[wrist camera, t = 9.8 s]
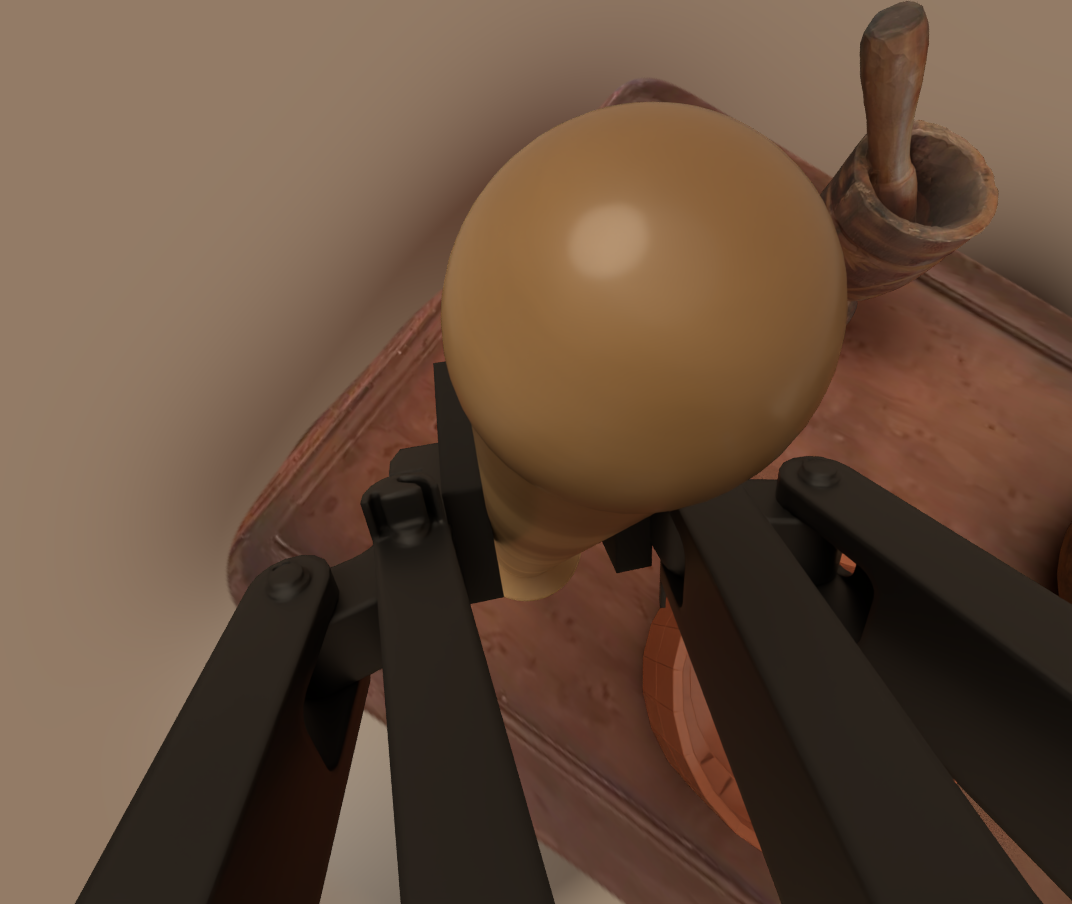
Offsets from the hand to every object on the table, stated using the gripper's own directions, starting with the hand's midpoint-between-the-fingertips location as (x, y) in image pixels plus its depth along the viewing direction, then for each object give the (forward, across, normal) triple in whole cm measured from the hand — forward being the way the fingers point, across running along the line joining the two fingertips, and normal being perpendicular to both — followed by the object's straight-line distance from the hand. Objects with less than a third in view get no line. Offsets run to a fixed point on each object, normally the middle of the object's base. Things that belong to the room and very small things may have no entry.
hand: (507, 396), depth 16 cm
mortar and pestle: (+25, +26, -7) cm, 36 cm away
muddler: (+3, 0, -9) cm, 9 cm away
